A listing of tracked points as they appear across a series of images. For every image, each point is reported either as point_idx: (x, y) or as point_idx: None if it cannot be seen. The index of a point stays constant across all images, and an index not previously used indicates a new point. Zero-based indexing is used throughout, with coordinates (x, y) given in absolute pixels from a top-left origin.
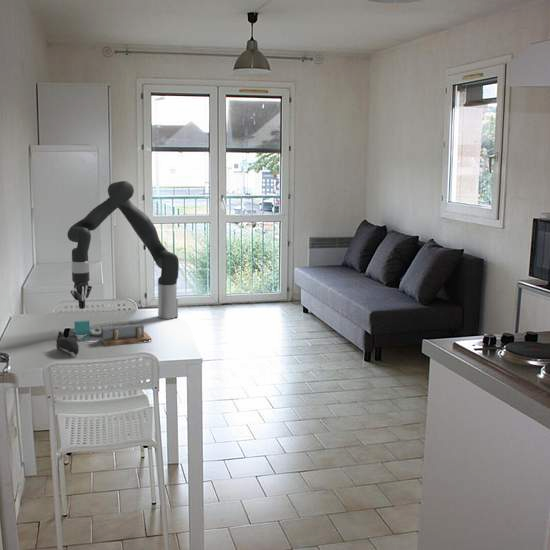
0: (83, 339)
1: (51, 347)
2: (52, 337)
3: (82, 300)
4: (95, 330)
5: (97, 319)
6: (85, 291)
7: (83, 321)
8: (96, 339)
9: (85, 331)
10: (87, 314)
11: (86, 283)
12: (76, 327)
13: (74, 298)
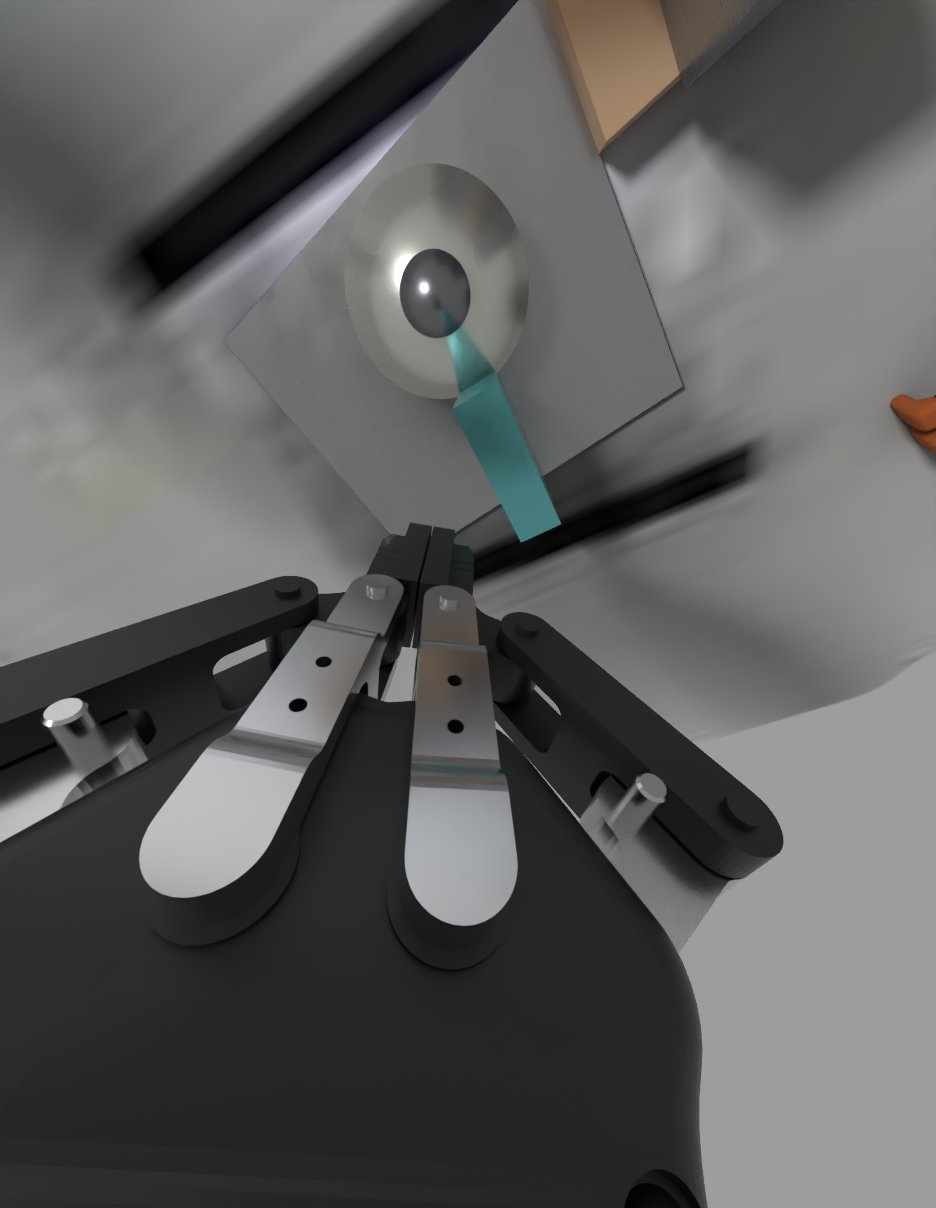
0: (650, 349)
1: (852, 502)
2: (593, 599)
3: (458, 594)
4: (467, 312)
5: (80, 532)
6: (339, 689)
7: (516, 448)
8: (618, 211)
9: (512, 408)
10: (51, 634)
11: (24, 993)
12: (547, 489)
13: (540, 713)
